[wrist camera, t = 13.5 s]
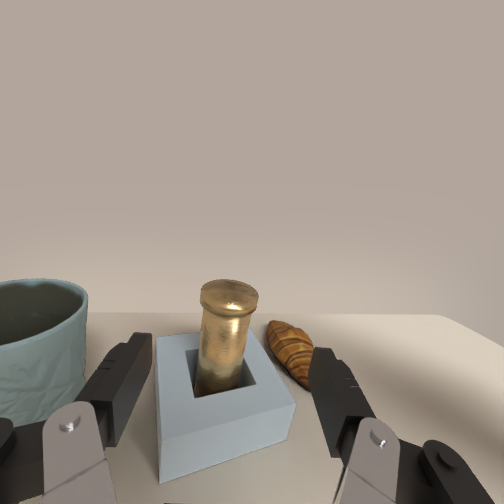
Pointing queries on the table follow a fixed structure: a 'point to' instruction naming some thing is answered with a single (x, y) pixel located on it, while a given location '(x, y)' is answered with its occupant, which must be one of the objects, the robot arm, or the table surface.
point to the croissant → (291, 349)
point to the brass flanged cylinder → (223, 335)
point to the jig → (215, 408)
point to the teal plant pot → (40, 347)
